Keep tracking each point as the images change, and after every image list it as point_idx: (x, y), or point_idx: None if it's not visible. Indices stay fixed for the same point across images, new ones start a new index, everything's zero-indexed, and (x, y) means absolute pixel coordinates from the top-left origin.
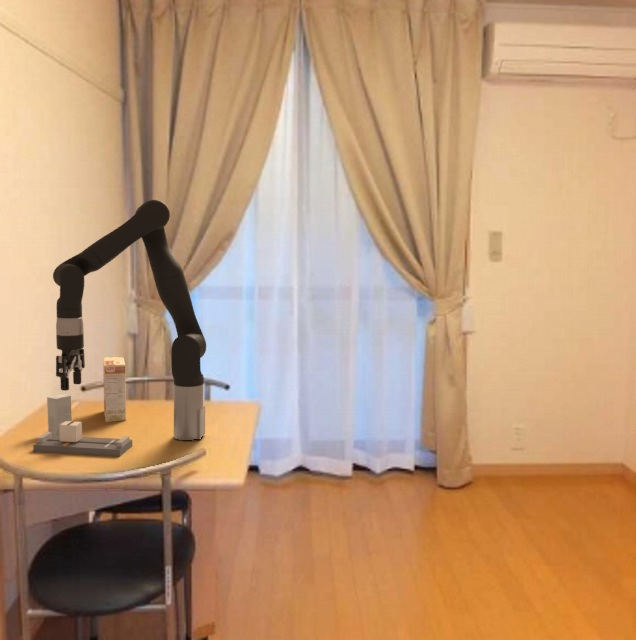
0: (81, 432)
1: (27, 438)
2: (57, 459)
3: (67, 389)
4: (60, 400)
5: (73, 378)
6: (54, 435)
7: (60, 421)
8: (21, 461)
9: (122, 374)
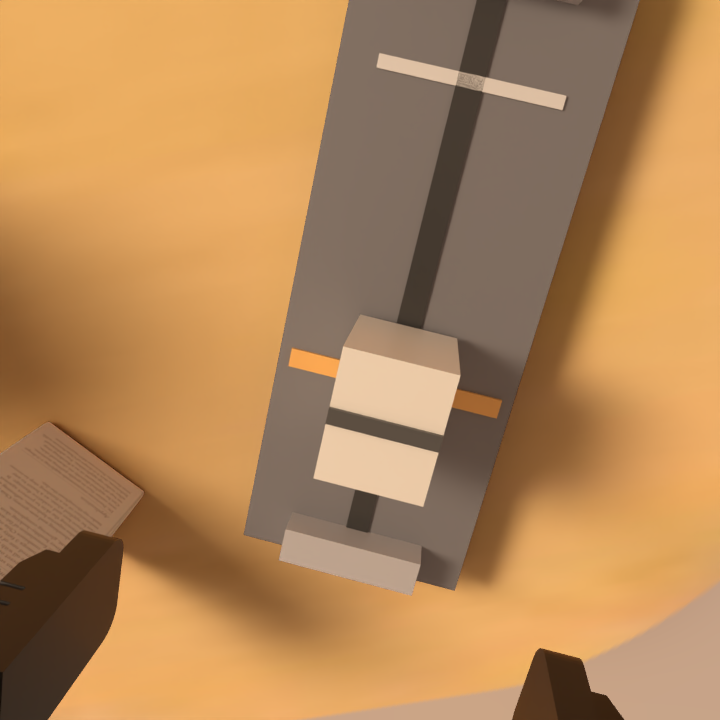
0: (363, 326)
1: (199, 635)
2: (634, 407)
3: (580, 667)
4: None
5: (69, 687)
6: (256, 504)
7: (77, 517)
8: (639, 594)
9: None
